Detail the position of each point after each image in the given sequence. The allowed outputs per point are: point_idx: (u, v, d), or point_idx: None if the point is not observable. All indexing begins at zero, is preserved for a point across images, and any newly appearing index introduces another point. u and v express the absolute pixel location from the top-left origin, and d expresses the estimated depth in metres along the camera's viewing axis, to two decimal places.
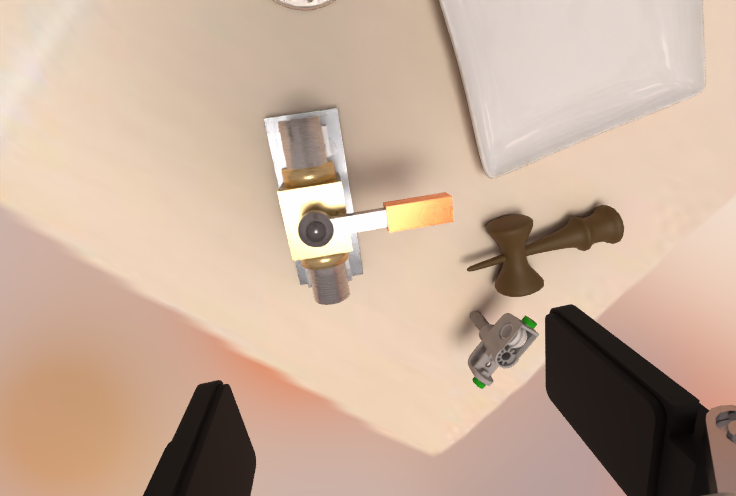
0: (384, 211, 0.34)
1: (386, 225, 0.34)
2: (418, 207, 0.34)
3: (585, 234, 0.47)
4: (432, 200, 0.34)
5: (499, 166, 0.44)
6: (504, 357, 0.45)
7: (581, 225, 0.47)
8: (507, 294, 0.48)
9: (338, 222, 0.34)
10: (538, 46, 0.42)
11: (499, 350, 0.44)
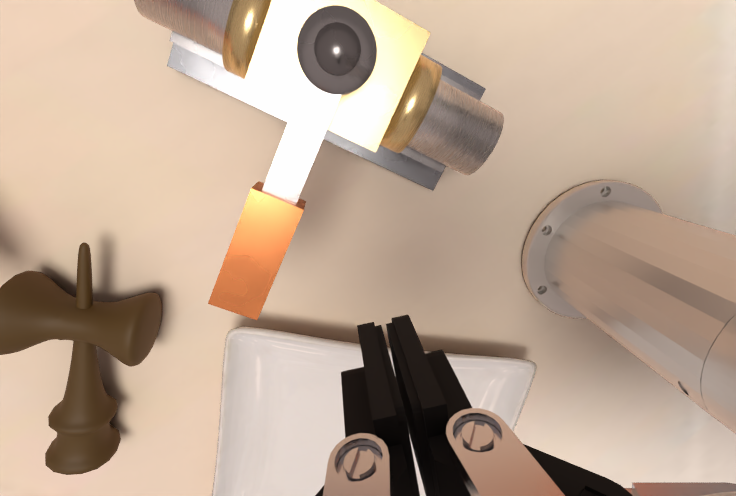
0: (295, 200, 0.17)
1: (266, 189, 0.17)
2: (269, 261, 0.17)
3: (78, 426, 0.30)
4: (268, 288, 0.18)
5: (238, 345, 0.31)
6: None
7: (98, 421, 0.30)
8: (0, 293, 0.25)
9: (325, 106, 0.16)
10: None
11: None
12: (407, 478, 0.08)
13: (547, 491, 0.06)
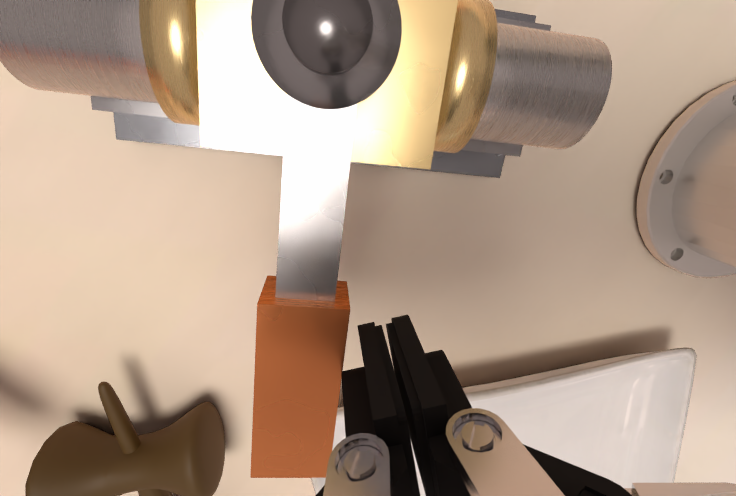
0: (331, 296, 0.10)
1: (282, 294, 0.10)
2: (320, 397, 0.11)
3: None
4: (331, 433, 0.11)
5: None
6: None
7: None
8: (33, 472, 0.21)
9: (336, 134, 0.09)
10: None
11: None
12: (407, 478, 0.08)
13: (547, 491, 0.06)
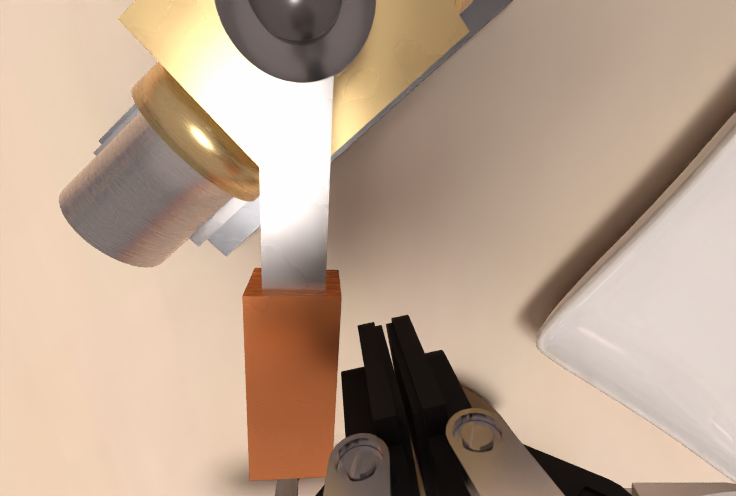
0: (321, 284, 0.10)
1: (268, 285, 0.10)
2: (317, 392, 0.10)
3: None
4: (330, 430, 0.11)
5: (556, 342, 0.24)
6: None
7: None
8: None
9: (313, 109, 0.08)
10: (726, 270, 0.26)
11: None
12: (407, 478, 0.08)
13: (547, 491, 0.06)
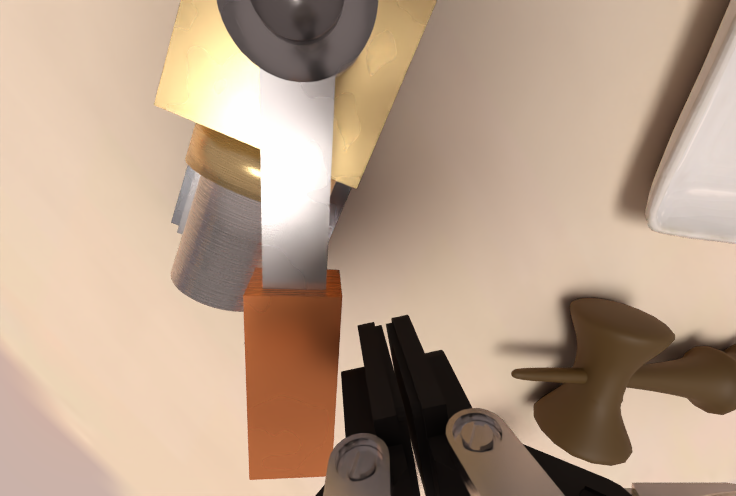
0: (322, 284, 0.10)
1: (269, 284, 0.10)
2: (317, 392, 0.10)
3: (735, 389, 0.25)
4: (330, 429, 0.11)
5: (670, 216, 0.22)
6: None
7: (730, 369, 0.25)
8: (564, 447, 0.24)
9: (315, 108, 0.08)
10: None
11: None
12: (407, 478, 0.08)
13: (547, 491, 0.06)
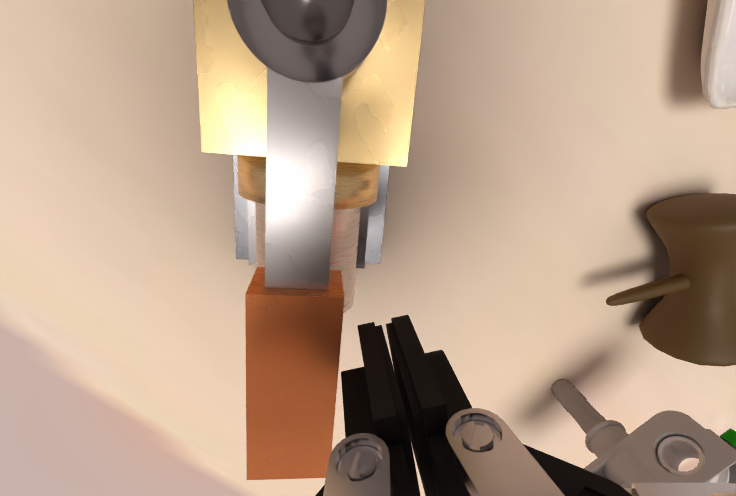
0: (324, 284, 0.10)
1: (271, 283, 0.10)
2: (317, 392, 0.10)
3: None
4: (329, 430, 0.11)
5: (732, 87, 0.20)
6: None
7: None
8: (688, 358, 0.23)
9: (321, 109, 0.08)
10: None
11: None
12: (407, 478, 0.08)
13: (547, 491, 0.06)
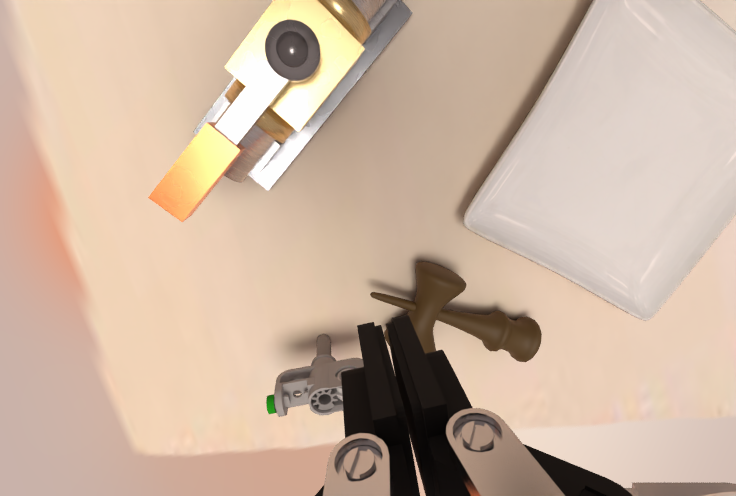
0: (236, 142, 0.23)
1: (217, 127, 0.23)
2: (204, 180, 0.23)
3: (502, 334, 0.41)
4: (197, 200, 0.24)
5: (478, 223, 0.38)
6: (321, 399, 0.34)
7: (503, 322, 0.41)
8: None
9: (275, 84, 0.23)
10: (589, 164, 0.40)
11: (325, 387, 0.33)
12: (407, 478, 0.08)
13: (547, 491, 0.06)
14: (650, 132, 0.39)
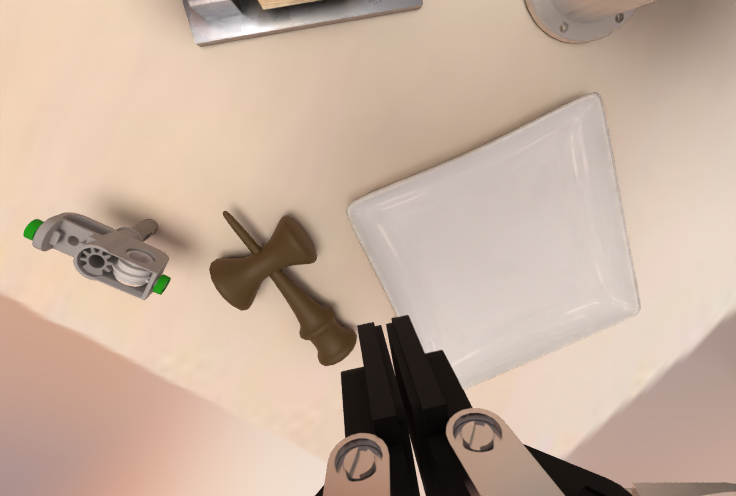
0: None
1: None
2: None
3: (319, 326, 0.40)
4: None
5: (359, 218, 0.38)
6: (94, 261, 0.30)
7: (327, 317, 0.40)
8: (212, 272, 0.36)
9: None
10: (474, 240, 0.42)
11: (105, 248, 0.29)
12: (407, 478, 0.08)
13: (547, 491, 0.06)
14: (530, 249, 0.44)
